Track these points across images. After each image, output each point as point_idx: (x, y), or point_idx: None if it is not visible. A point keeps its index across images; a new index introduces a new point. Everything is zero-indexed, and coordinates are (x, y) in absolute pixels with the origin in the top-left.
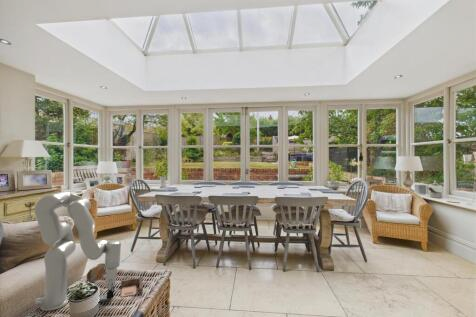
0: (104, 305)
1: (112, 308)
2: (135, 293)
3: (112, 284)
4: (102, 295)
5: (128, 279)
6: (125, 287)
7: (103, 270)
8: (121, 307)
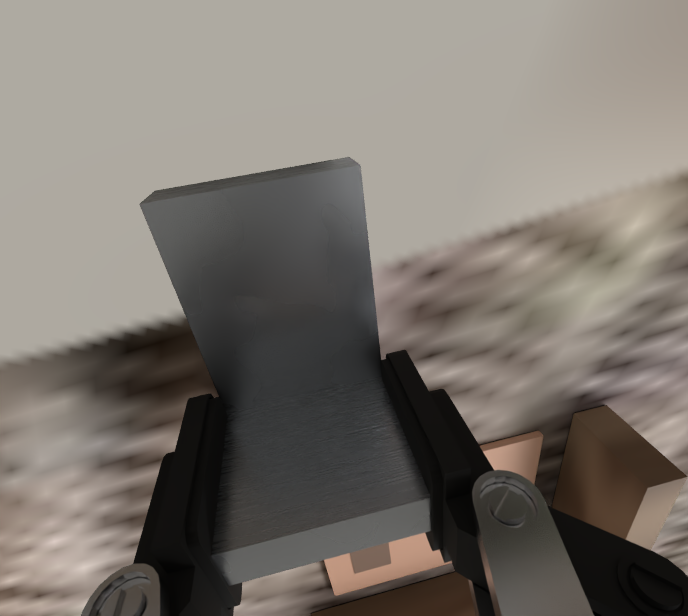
0: (78, 362)
1: (2, 492)
2: (342, 589)
3: (475, 578)
4: (343, 270)
5: (641, 544)
6: (524, 470)
7: None
8: (46, 568)
